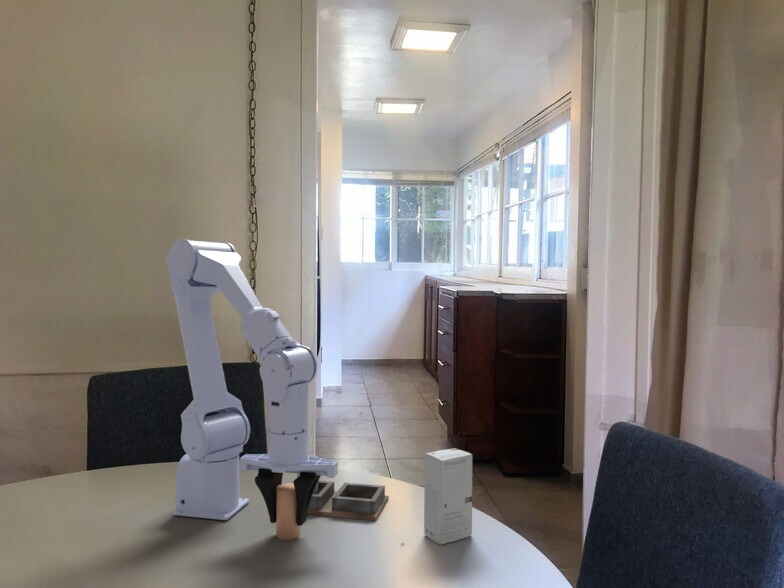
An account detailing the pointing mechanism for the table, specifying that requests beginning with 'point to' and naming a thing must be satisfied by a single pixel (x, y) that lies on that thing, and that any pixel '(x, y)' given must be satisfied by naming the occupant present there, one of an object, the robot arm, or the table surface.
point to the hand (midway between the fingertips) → (288, 521)
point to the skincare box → (448, 495)
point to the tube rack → (347, 500)
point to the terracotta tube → (286, 512)
